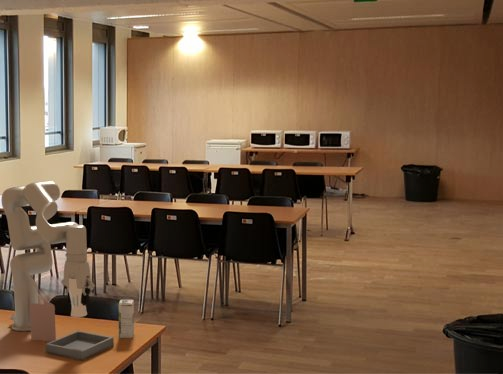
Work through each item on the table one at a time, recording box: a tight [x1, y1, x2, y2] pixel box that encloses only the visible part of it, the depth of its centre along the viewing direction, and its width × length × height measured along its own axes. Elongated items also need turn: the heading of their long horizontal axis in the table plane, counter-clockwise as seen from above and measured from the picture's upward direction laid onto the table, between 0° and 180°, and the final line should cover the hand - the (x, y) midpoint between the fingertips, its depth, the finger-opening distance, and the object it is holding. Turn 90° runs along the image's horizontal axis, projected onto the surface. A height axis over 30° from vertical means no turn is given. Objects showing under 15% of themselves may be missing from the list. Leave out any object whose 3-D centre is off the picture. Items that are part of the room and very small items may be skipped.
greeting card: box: [30, 299, 57, 342], centre depth 288 cm, size 11×7×15 cm, turn 37°
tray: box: [45, 330, 115, 361], centre depth 277 cm, size 18×18×4 cm
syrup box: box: [118, 299, 135, 339], centre depth 292 cm, size 6×6×14 cm
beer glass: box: [68, 278, 88, 318], centre depth 275 cm, size 7×7×15 cm
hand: (78, 303), depth 275 cm, fingers closed on beer glass, 6 cm apart
